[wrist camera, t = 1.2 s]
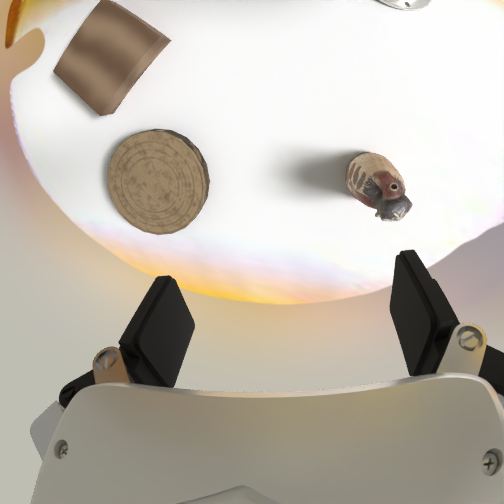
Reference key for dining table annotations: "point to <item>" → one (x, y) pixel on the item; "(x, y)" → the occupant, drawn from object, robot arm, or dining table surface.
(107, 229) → the dining table surface
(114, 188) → the wood slice coaster
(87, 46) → the walnut base
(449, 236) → the dining table surface
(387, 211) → the figurine
